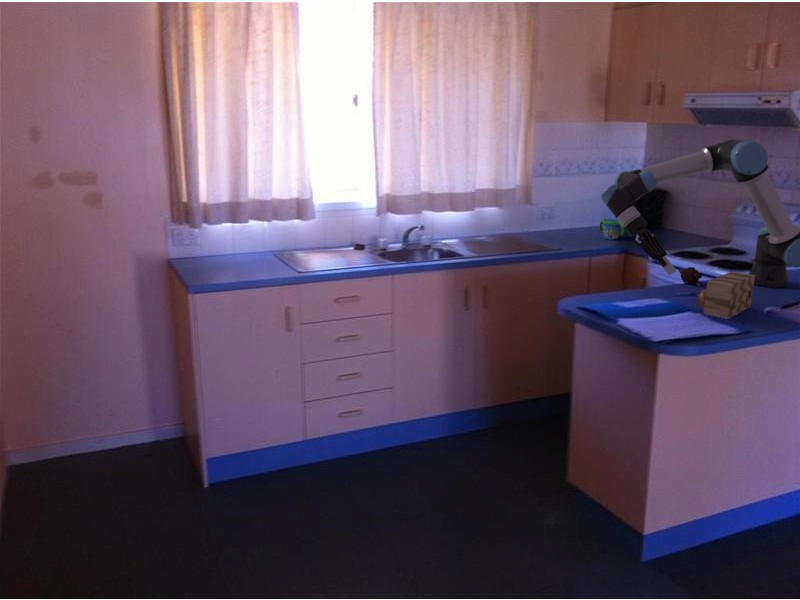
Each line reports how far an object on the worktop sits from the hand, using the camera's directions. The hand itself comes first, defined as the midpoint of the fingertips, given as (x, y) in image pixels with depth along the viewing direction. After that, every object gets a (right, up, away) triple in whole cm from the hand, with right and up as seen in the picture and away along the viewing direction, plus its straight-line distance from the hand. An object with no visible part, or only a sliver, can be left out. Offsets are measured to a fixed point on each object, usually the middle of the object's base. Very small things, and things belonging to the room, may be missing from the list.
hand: (672, 272), depth 257 cm
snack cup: (+16, +23, +130) cm, 133 cm away
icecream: (+20, -3, +34) cm, 39 cm away
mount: (+17, -14, -7) cm, 23 cm away
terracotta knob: (+11, -13, -11) cm, 20 cm away
